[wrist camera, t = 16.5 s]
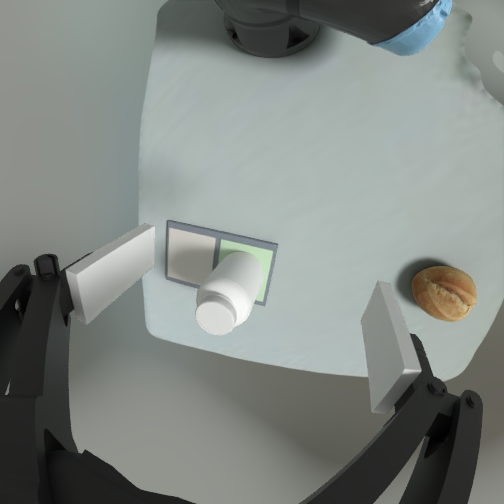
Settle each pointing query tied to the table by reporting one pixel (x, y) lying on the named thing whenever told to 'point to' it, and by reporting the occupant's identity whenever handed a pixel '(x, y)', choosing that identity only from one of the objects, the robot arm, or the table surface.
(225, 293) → the pill bottle
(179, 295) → the table surface
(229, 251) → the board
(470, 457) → the robot arm
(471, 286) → the bread roll
